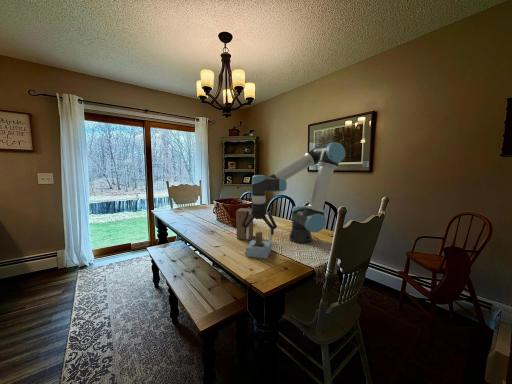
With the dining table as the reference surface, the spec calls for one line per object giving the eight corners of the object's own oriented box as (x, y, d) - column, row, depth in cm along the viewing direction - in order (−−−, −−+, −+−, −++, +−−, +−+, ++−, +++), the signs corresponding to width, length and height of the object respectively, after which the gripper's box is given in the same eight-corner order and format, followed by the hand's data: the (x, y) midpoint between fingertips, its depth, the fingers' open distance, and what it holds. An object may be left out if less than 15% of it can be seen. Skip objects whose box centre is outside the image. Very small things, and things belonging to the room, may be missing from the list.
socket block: (271, 249, 123) (271, 241, 122) (267, 258, 111) (267, 249, 110) (252, 247, 126) (252, 240, 125) (246, 256, 114) (246, 247, 114)
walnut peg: (263, 251, 120) (263, 232, 118) (261, 254, 116) (261, 234, 114) (256, 251, 121) (256, 231, 119) (254, 254, 117) (254, 233, 115)
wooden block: (250, 240, 139) (250, 211, 136) (236, 239, 141) (235, 210, 138) (253, 235, 148) (253, 208, 146) (240, 234, 150) (239, 207, 148)
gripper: (281, 202, 115) (281, 238, 118) (240, 200, 121) (240, 235, 124) (280, 204, 108) (279, 243, 111) (235, 203, 114) (236, 239, 117)
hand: (259, 239), depth 117 cm, fingers open, 13 cm apart
